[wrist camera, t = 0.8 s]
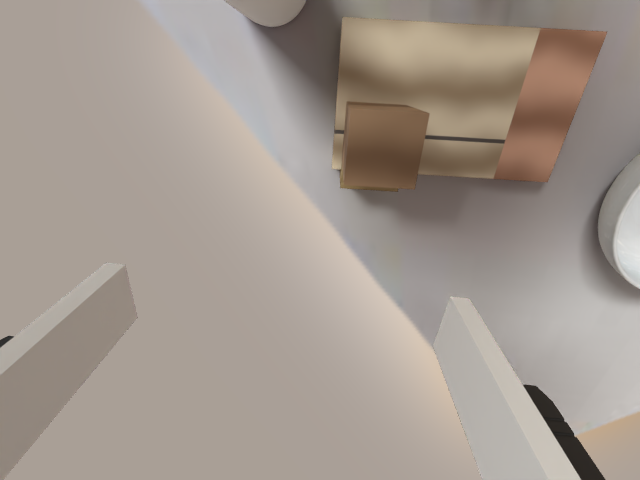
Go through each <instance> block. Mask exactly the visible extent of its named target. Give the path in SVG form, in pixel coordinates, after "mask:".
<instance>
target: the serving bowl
mask: <svg viewBox="0 0 640 480" xmlns="http://www.w3.org/2000/svg"><path fill="white" fill-rule="evenodd" d="M598 236H599V242H600V245H601V248H602V251H603V253H604V255H605V257H606V258H607V260H608V261H609V263H610V264H611V266H612V267H613V268H614V269H615V270H616V271H617V272H618V273H619V274H620V275H621V276H622V277H623V278H624V279H625V280H626V281H627V282H629V283H630V284H631V285H633V286H635V287H636V288H638V289H640V153H639V154H638V155H637V156H636V157H635V158H634V159H633V160H632V161H630V162H629V164H628V165H627V166H626V167H625V168H624V169H623V170H622V171H621V173H620V174H619V175H618V176H617V178H616V179H615V181H614V182H613V184H612V185H611V187H610V188H609V190H608V192H607V194H606V196H605V198H604V201H603V203H602V206H601V209H600V214H599V220H598Z"/></svg>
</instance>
